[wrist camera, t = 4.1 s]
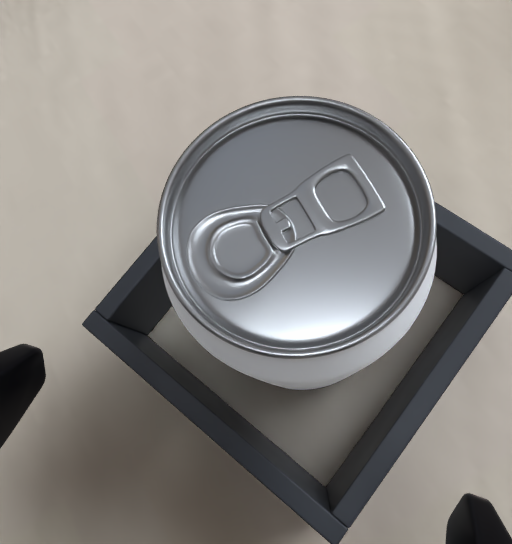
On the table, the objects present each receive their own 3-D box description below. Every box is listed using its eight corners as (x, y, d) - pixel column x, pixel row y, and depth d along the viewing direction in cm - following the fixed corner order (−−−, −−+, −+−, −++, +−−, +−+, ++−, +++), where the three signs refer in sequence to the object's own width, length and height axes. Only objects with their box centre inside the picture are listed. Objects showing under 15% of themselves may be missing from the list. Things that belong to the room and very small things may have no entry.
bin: (329, 513, 19) (335, 548, 14) (126, 338, 22) (80, 324, 17) (486, 291, 20) (534, 262, 16) (278, 154, 23) (271, 99, 19)
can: (206, 287, 22) (90, 164, 10) (329, 222, 22) (352, 29, 10) (270, 417, 20) (218, 447, 8) (404, 346, 20) (532, 279, 9)
